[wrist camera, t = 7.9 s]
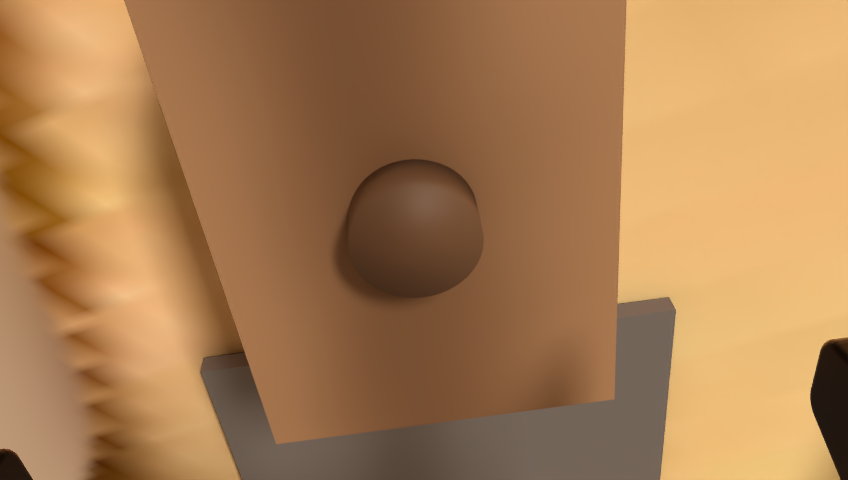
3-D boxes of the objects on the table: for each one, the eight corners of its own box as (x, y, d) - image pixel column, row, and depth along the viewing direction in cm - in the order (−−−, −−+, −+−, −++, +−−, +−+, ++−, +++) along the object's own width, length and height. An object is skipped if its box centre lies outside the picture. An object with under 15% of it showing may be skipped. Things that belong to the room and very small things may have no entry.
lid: (574, -181, 12) (650, -135, 9) (578, 299, 17) (626, 431, 14) (153, -120, 12) (80, -54, 9) (288, 338, 18) (272, 478, 14)
